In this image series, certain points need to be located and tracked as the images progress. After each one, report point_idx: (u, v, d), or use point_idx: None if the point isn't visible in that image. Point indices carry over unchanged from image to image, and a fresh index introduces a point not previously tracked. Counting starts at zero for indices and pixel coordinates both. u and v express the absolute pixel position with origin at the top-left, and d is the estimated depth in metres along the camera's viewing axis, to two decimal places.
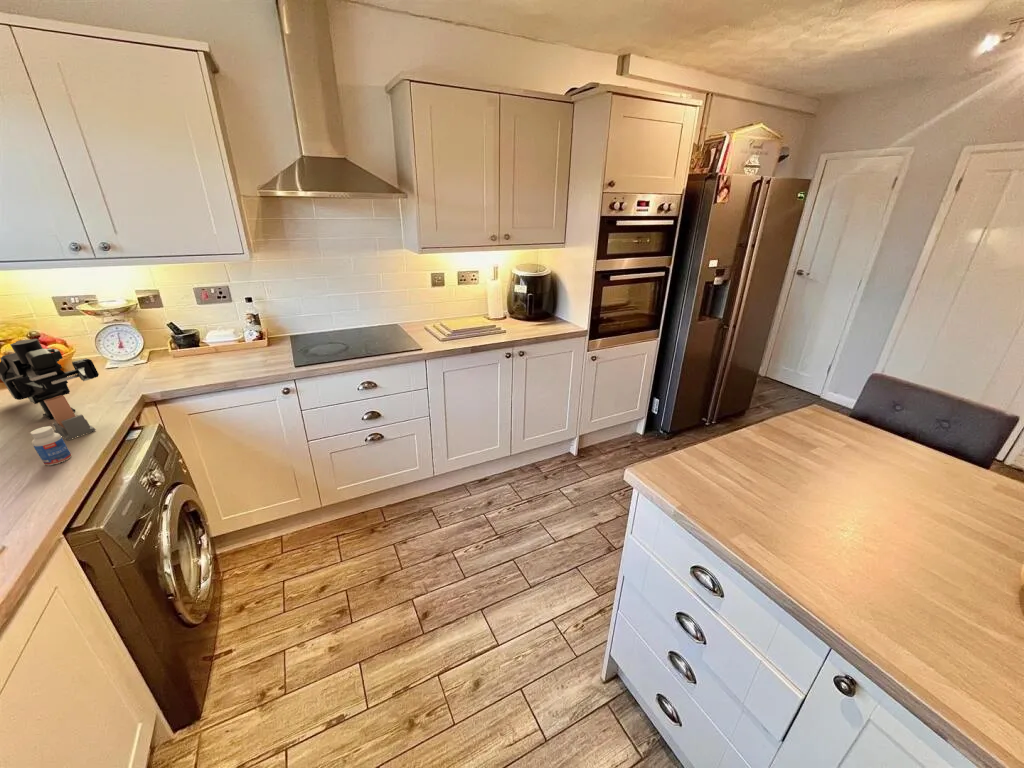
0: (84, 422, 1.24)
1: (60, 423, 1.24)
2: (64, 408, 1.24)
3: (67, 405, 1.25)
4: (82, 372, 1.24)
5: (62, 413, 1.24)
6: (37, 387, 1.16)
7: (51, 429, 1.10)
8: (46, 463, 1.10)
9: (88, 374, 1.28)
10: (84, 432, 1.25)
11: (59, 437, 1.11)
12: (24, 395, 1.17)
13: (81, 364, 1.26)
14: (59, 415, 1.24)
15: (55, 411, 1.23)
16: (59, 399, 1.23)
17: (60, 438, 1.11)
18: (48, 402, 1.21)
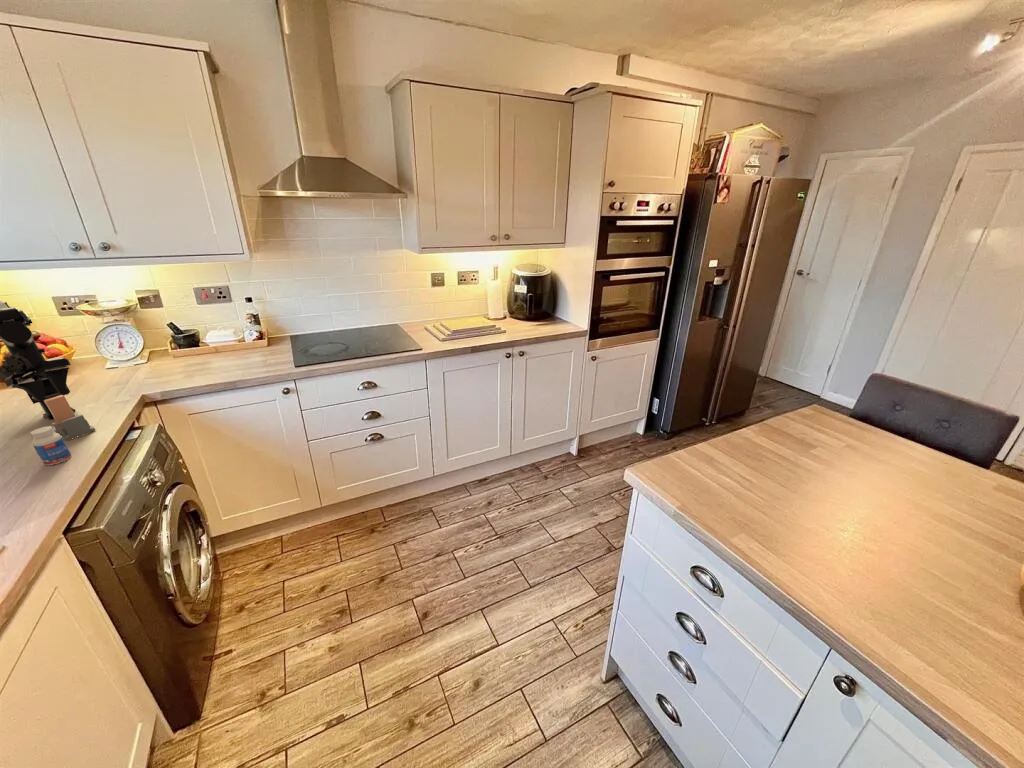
0: (84, 422, 1.24)
1: (60, 423, 1.24)
2: (64, 408, 1.25)
3: (67, 405, 1.25)
4: (55, 387, 1.21)
5: (62, 413, 1.24)
6: None
7: (51, 429, 1.10)
8: (46, 463, 1.10)
9: (61, 371, 1.22)
10: (84, 432, 1.25)
11: (59, 437, 1.11)
12: None
13: (46, 375, 1.19)
14: (59, 415, 1.24)
15: (55, 411, 1.23)
16: (59, 399, 1.23)
17: (60, 438, 1.11)
18: (48, 402, 1.21)
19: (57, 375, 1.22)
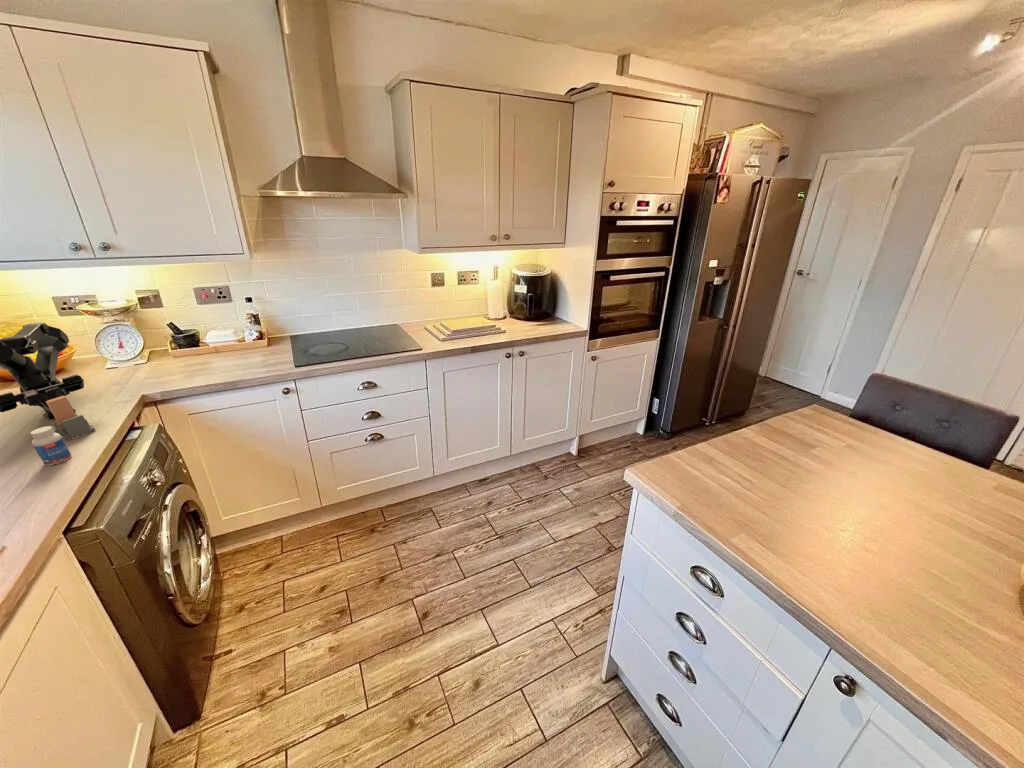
0: (84, 422, 1.24)
1: (62, 424, 1.24)
2: (66, 409, 1.24)
3: (69, 406, 1.24)
4: None
5: (64, 414, 1.24)
6: None
7: (51, 429, 1.10)
8: (46, 463, 1.10)
9: (33, 399, 1.22)
10: (84, 432, 1.25)
11: (59, 437, 1.11)
12: (59, 390, 1.26)
13: None
14: (61, 416, 1.23)
15: (57, 412, 1.22)
16: (61, 400, 1.23)
17: (60, 438, 1.11)
18: (50, 403, 1.21)
19: None
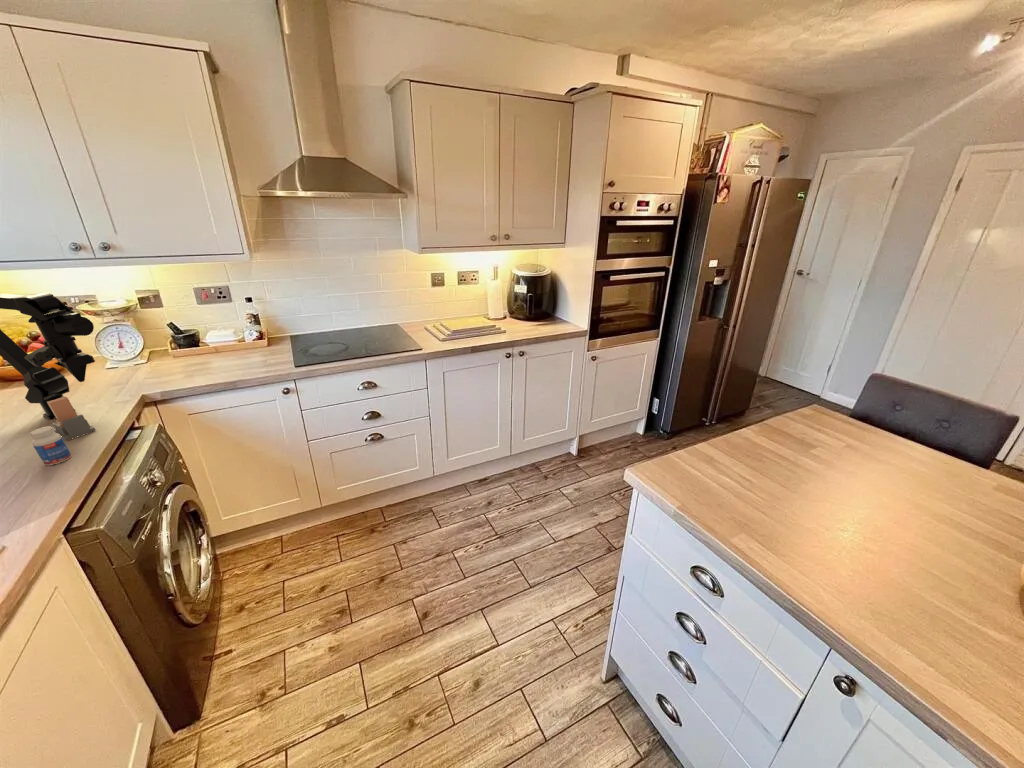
0: (84, 422, 1.24)
1: None
2: (67, 410, 1.23)
3: (70, 407, 1.24)
4: (75, 376, 1.30)
5: (66, 415, 1.23)
6: None
7: (51, 429, 1.10)
8: (46, 463, 1.10)
9: None
10: (84, 432, 1.25)
11: (59, 437, 1.11)
12: None
13: (65, 367, 1.26)
14: (62, 417, 1.23)
15: (58, 413, 1.22)
16: (62, 401, 1.22)
17: (60, 438, 1.11)
18: (51, 404, 1.20)
19: None
